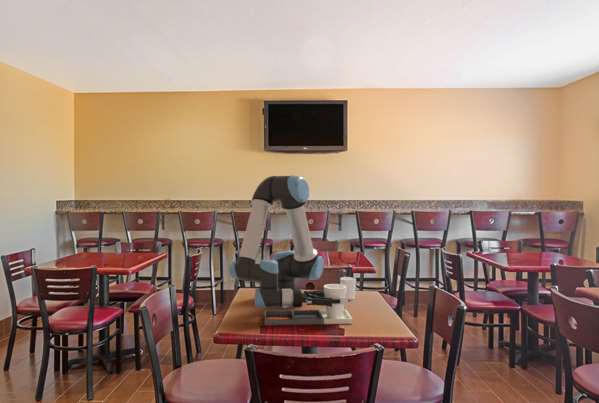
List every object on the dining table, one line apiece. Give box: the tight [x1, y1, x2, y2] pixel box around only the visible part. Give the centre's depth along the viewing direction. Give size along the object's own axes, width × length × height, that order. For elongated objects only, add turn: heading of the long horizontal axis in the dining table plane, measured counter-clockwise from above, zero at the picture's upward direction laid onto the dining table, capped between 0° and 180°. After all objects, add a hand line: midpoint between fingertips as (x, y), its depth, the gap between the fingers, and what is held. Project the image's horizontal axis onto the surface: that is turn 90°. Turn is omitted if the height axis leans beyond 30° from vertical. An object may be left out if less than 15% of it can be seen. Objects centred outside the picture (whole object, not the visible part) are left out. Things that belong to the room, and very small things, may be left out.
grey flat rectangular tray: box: [264, 309, 353, 326], centre depth 166 cm, size 35×13×2 cm, turn 95°
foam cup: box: [323, 283, 346, 319], centre depth 167 cm, size 10×9×13 cm
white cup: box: [339, 276, 357, 301], centre depth 201 cm, size 8×8×10 cm
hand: (345, 297), depth 167 cm, fingers open, 10 cm apart
